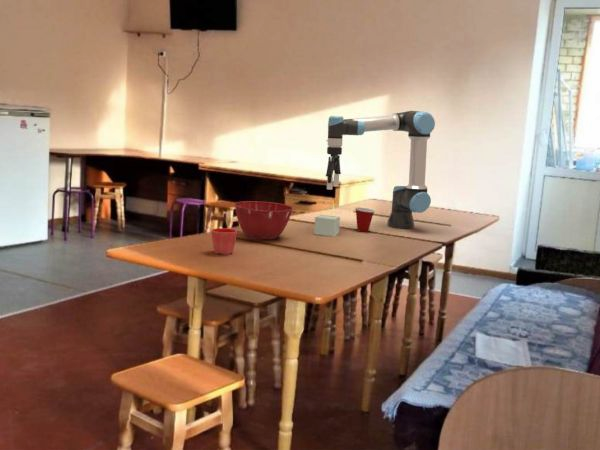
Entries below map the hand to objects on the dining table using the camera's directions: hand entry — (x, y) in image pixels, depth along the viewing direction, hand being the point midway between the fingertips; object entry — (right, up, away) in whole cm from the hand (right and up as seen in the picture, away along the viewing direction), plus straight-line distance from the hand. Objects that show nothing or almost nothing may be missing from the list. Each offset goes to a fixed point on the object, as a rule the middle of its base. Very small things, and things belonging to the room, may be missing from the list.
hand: (332, 188), depth 354 cm
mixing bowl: (-35, -25, -23) cm, 49 cm away
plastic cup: (+17, -22, +12) cm, 31 cm away
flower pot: (-49, -31, -63) cm, 86 cm away
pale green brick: (-3, -24, -4) cm, 24 cm away
